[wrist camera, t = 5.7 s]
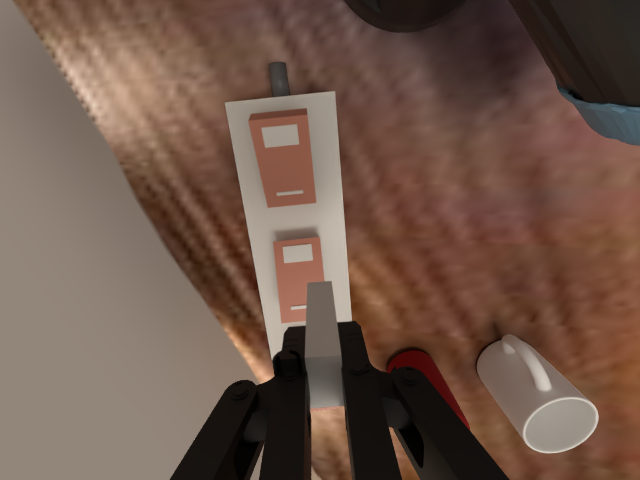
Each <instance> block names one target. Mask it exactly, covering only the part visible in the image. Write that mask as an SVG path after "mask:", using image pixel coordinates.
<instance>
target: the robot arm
mask: <svg viewBox="0 0 640 480" xmlns="http://www.w3.org/2000/svg"><path fill="white" fill-rule="evenodd" d="M345 1H346V2H347V4H348V5H349V6H350V7H351V8H352V10H353V11H354V12H355V13H356V14H358V15H359V16H360V17H361V18H362V19H364V20H365V21H367V22H368V23H370V24H372V25H374V26H376V27H378V28H381V29H384V30H387V31H392V32H403V33H404V32H414V31H419V30H423V29H426V28H428V27H431V26H433V25H435V24H437V23H439V22H440V21H442V20H444V19H445V18H447V17H448V16H449V15H450V14H452V13H453V12H454V11H455V10H456V9H457V8H459V7H460V6H461V5H462V4H463V3H464V2H465V1H466V0H345ZM509 2H510V3H511V5H512V7H513V8H514V10H515V12H516V13H517V15H518V16H519V18H520V20H521V21H522V23H523V24H524V26H525V28H526V29H527V31H528V33H529V35H530V36H531V38H532V40H533V41H534V43H535V45H536V46H537V48H538V50H539V52H540V53H541V55H542V57H543V58H544V60H545V62H546V64H547V65H548V67H549V69H550V70H551V72H552V74H553V75H554V77H555V81H556V84H557V88H558V90H559V92H560V93H561V95H562V96H563V97H564V98H566V99H567V100H568V101H570V102H572V103H573V104H574V106H575V107H576V109H577V110H578V111H579V113H580V114H581V116H582V117H583V118H584V120H585V121H586V123H587V124H588V125H589V126H590V127H591V128H592V129H593V130H594V131H596V132H597V133H598V134H600V135H602V136H604V137H606V138H611V139H617V140H619V141H621V142H625V143H627V144H631V145H638V146H640V0H509ZM272 363H273V369H274V375H275V376H274V377H273V378H272V379H270V380H269V381H267V382H265V383H262V384H259V385H255V384H254V383H253V382H252V381H249V380H240V381H237V382H235V383H233V384H232V385H230V386H229V387H228V388H227V389H226V390H225V392H224V393H223V395H222V397H221V398H220V400H219V401H218V403H217V405H216V406H215V408H214V409H213V411H212V413H211V414H210V416H209V417H208V419H207V421H206V422H205V424H204V425H203V427H202V429H201V430H200V432H199V433H198V435H197V437H196V438H195V440H194V441H193V443H192V445H191V446H190V448H189V449H188V451H187V453H186V454H185V456H184V458H183V459H182V461H181V463H180V464H179V466H178V467H177V469H176V470H175V472H174V474H173V475H172V477H171V478H170V480H250V478H251V475H252V473H253V470H254V467H255V465H256V463H257V460H258V458H259V455H260V452H261V450H262V447H263V445H264V450H263V456H262V463H261V470H260V476H259V480H311V413H310V407H311V408H321V407H334V406H344V407H345V422H346V430H347V437H348V446H349V455H350V464H351V473H352V480H402V477H401V474H400V470H399V466H398V462H397V458H396V454H395V450H394V446H393V443H392V439H391V435H390V431H389V427H392V428H393V429H394V432H395V434H396V436H397V437H398V439H399V441H400V443H401V445H402V447H403V448H404V450H405V452H406V454H407V456H408V458H409V460H410V461H411V463H412V465H413V467H414V469H415V471H416V472H417V474H418V476H419V478H420V480H509V478H508V477H507V476H506V475H505V474H504V472H503V471H502V470H501V469H500V467H499V466H498V465H497V464H496V462H495V461H494V460H493V459H492V457H491V456H490V455H489V454H488V452H487V451H486V450H485V449H484V448H483V446H482V445H481V444H480V443H479V441H478V440H477V439H476V438H475V436H474V435H473V434H472V433H471V431H470V430H469V429H468V428H467V426H466V425H465V424H464V423H463V422H462V420H461V419H460V418H459V417H458V415H457V414H456V413H455V412H454V410H453V409H452V408H451V407H450V405H449V404H448V403H447V402H446V400H445V399H444V398H443V397H442V395H441V394H440V393H439V392H438V391H437V389H436V388H435V387H434V386H433V384H432V383H431V382H430V381H429V379H428V378H427V377H426V376H425V374H424V373H422V372H421V371H420V370H419V369H416V368H414V367H410V366H403V367H400V368H397V369H396V370H395V371H394V372H393V374H392V373H386V372H382V371H380V370H378V369H376V368H374V367H373V366H372V365H371V363H370V361H369V358H368V354H367V350H366V346H365V342H364V338H363V335H362V330H361V326H360V325H359V324H358V323H357V322H356V321H348V322H337V318H336V310H335V303H334V295H333V288H332V281H322V282H310V283H307V306H306V326H294V327H288V329H287V330H286V331H285V333H284V336H283V343H282V350H281V351H279V352H278V353H277V354H276V355H275V356H274V357H273V359H272ZM264 442H265V443H264Z"/></svg>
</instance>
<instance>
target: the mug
mask: <svg viewBox="0 0 640 480" xmlns="http://www.w3.org/2000/svg"><path fill="white" fill-rule="evenodd" d="M477 372H478V375H479V377H480V379H481V381H482V382H483V384H484V385H485V387H486V388H487V389H488V391H489V392H490V394H491V395H492V396H493V398H494V399H495V401H496V402H497V403H498V405H499V406H500V408H501V409H502V410H503V412H504V413H505V415H506V416H507V417H508V419H509V420H510V422H511V423H512V424H513V426H514V427H515V429H516V430H517V432H518V433H519V434H520V436H521V437H522V439H523V440H524V441H525V443H526V444H527V445H528V446H529V447H530V448H532V449H533V450H536V451H538V452H542V453H558V452H563V451H566V450H569V449H571V448H574V447H576V446H577V445H579V444H581V443H582V442H584V441H585V440H586V439H587V438H588V437H589V436H590V435H591V434H592V433H593V431H594V430H595V428H596V426H597V423H598V411H597V409H596V407H595V406H594V405H593V404H592V403H591V402H590V401H589V400H588V399H587V398H586V397H585V396H584V395H583V394H582V393H581V392H580V391H579V390H578V389H576V388H575V387H574V386H573V385H572V384H571V383H570V382H569V381H568V380H567V379H566V378H565V377H564V376H563V375H561V374H560V373H559V372H558V371H557V370H556V369H555V368H554V367H553V366H552V365H551V364H550V363H549V362H548V361H547V360H545V359H544V358H543V357H542V356H541V355H540V354H539V353H538V352H537V351H536V350H535V349H534V348H533V347H531V346H530V345H529V344H527V343H526V342H524V341H521V340H520V339H518V338H517V337H515V336H514V335H510V334H507V335H504V336H503V337H502V340H500V341H497V342H495V343H493V344H491V345H489V346H488V347H487V348H486V349H485V350H484V351H483V352H482V353H481V355H480V357H479V359H478V362H477Z"/></svg>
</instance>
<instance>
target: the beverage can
mask: <svg viewBox="0 0 640 480" xmlns="http://www.w3.org/2000/svg"><path fill="white" fill-rule="evenodd" d="M403 366H410V367H414V368H416V369H419V370H420V371H421V372H422V373H424V374H425V376H426V377H427V378H428V379H429V381H430V382H431V383H432V384H433V386H434V387H435V388H436V389H437V391H438V392H439V393H440V394H441V395H442V397H443V398H444V399H445V400H446V402H447V403H448V404H449V405H450V407H451V408H452V409H453V410H454V412H455V413H456V414H457V415H458V417H459V418H460V419H461V420H462V422H463V423H464V424H465V425H466V426H467V428H468V429H469V430H470V427H469V424H468V422H467V420H466V418H465V416H464V414H463V412H462V411H461V409H460V407H459V405H458V403H457V401H456V400H455V398H454V396H453V394H452V393H451V391H450V389H449V387H448V385H447V384H446V382H445V380H444V378H443V377H442V375H441V373H440V371H439V370H438V368H437V366H436V364H435V363H434V361H433V359H432V358H431V357H430V356H429V355H428V354H426V353H424V352H421V351H406V352H403V353H401V354H399V355H397V356H396V357H395V358H394V359H393V360H392V361H391V362H390V364H389V366H388V369H387V373H392V374H393V372H394V371H395V370H396V369H397V368H400V367H403Z"/></svg>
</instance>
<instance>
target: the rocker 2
mask: <svg viewBox="0 0 640 480" xmlns="http://www.w3.org/2000/svg"><path fill="white" fill-rule="evenodd" d="M273 247H274V257H275V266H276V276H277V286H278V296H279V305H280V315H281V323H291V322H301V321H306V306H307V283H310V282H322V281H324V271H323V262H322V252H321V243H320V237H314V238H304V239H294V240H285V241H275V242H273Z"/></svg>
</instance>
